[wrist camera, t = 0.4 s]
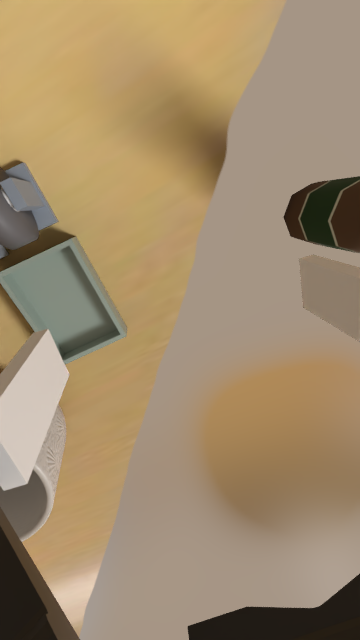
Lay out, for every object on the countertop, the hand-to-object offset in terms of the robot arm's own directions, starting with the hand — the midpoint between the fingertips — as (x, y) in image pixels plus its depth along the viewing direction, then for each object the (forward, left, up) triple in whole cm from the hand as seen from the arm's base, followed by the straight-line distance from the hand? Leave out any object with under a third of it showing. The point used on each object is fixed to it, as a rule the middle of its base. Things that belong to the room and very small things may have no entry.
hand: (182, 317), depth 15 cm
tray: (+2, -13, -27) cm, 30 cm away
